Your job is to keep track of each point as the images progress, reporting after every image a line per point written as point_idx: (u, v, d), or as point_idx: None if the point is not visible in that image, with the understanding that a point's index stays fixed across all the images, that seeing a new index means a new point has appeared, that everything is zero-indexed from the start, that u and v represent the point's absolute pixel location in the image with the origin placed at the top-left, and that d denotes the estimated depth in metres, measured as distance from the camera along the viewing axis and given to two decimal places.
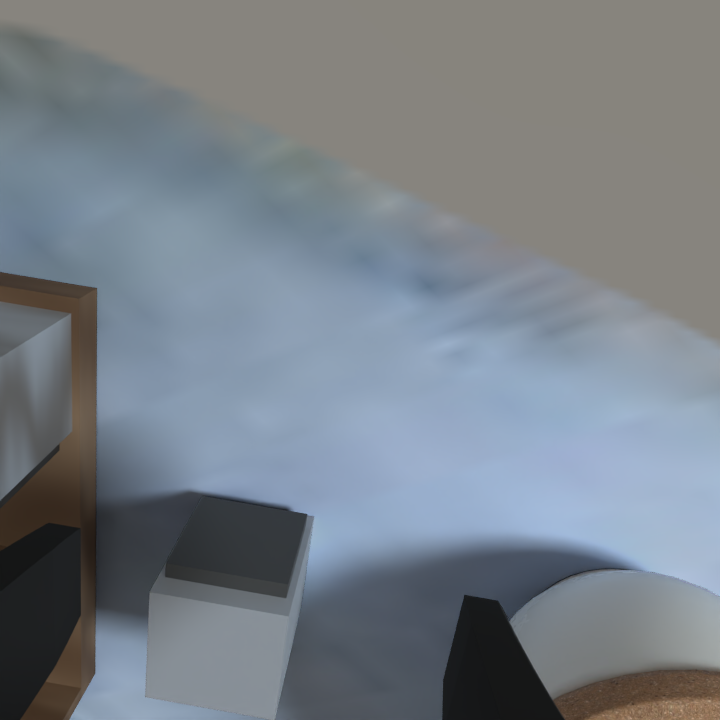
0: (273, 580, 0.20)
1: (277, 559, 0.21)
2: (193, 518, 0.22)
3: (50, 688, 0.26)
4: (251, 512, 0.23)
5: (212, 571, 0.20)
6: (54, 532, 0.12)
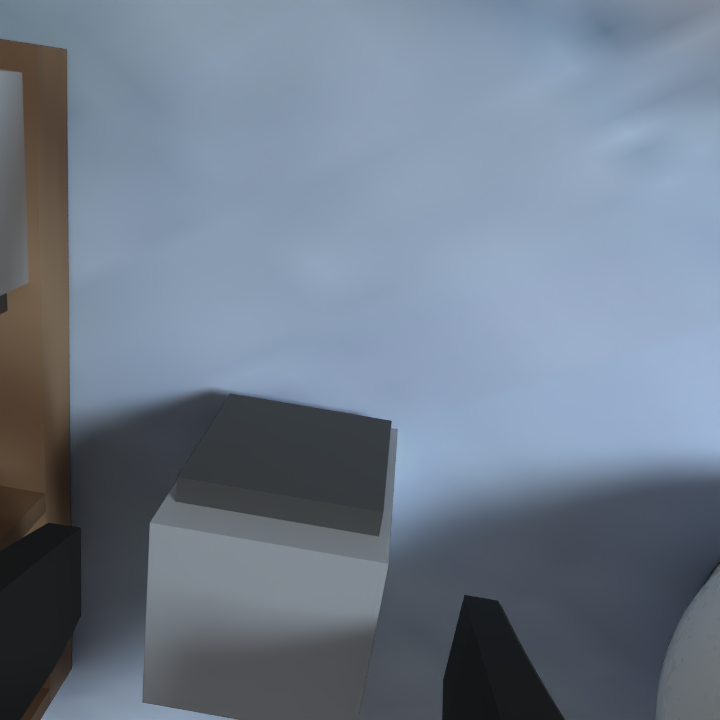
0: (358, 505, 0.12)
1: (358, 476, 0.13)
2: (218, 420, 0.14)
3: None
4: (307, 415, 0.15)
5: (255, 490, 0.12)
6: (54, 532, 0.12)
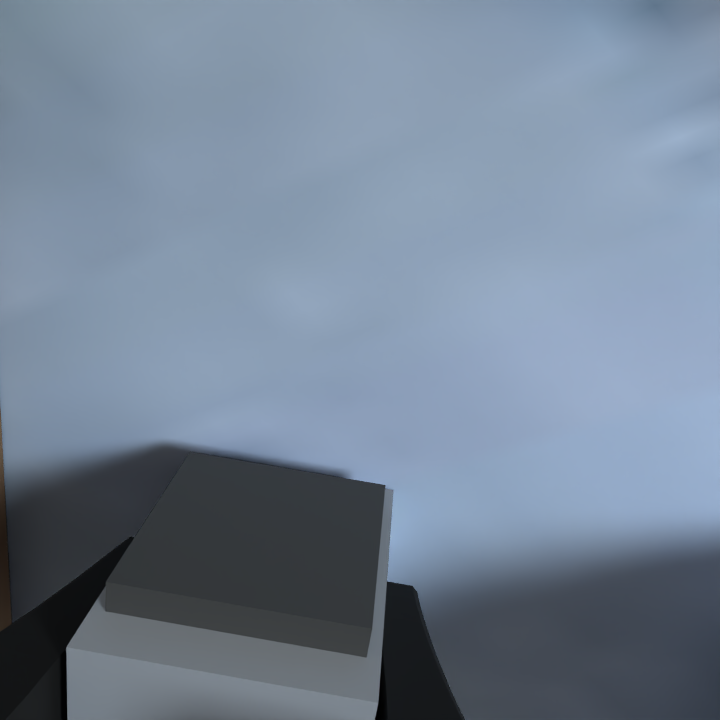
0: (339, 619, 0.09)
1: (341, 572, 0.10)
2: (171, 490, 0.11)
3: None
4: (282, 481, 0.12)
5: (207, 599, 0.09)
6: None
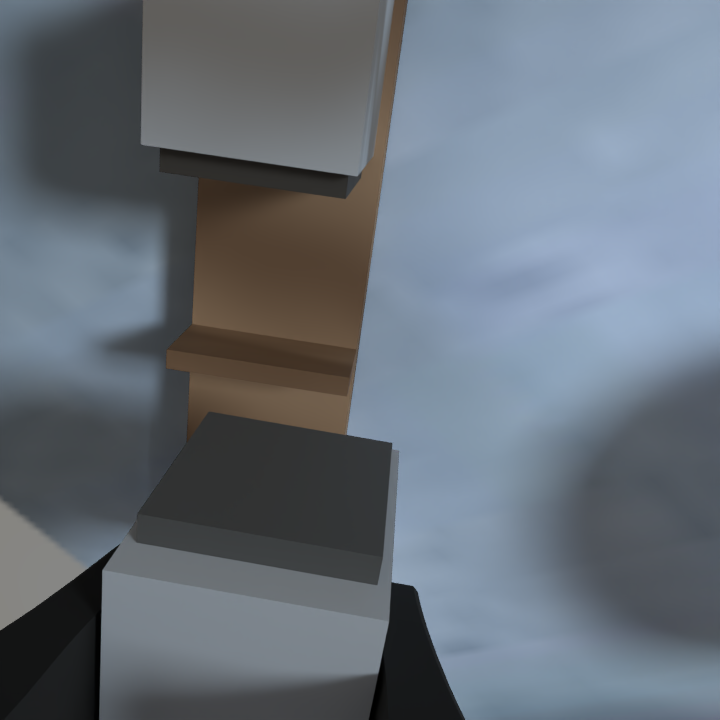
0: (352, 549, 0.10)
1: (353, 511, 0.11)
2: (193, 442, 0.12)
3: None
4: (295, 437, 0.13)
5: (230, 530, 0.10)
6: None
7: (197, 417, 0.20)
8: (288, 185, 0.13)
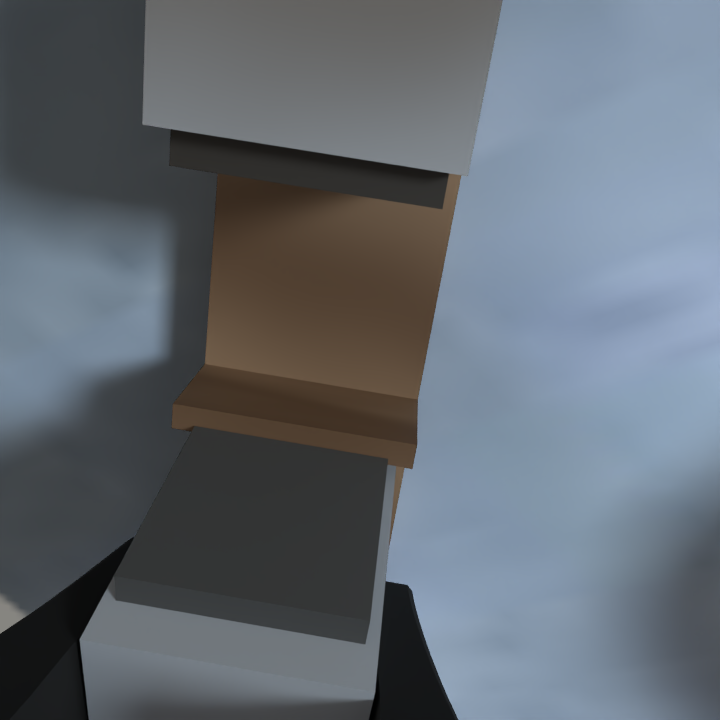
0: (338, 611, 0.10)
1: (342, 558, 0.10)
2: (176, 471, 0.12)
3: None
4: (285, 457, 0.12)
5: (211, 593, 0.10)
6: None
7: None
8: (358, 188, 0.09)
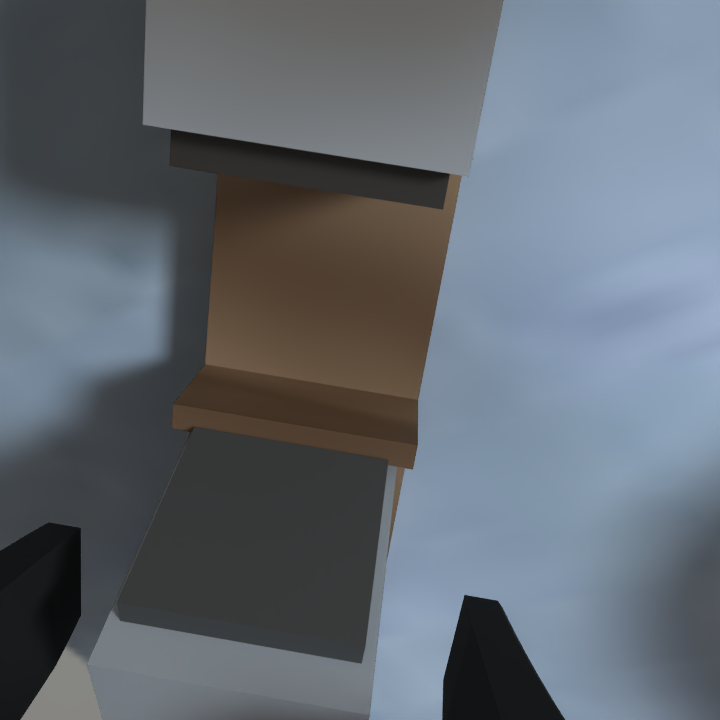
0: (335, 636, 0.10)
1: (340, 577, 0.11)
2: (176, 481, 0.12)
3: None
4: (285, 461, 0.12)
5: (211, 619, 0.10)
6: (54, 532, 0.12)
7: None
8: (359, 188, 0.09)
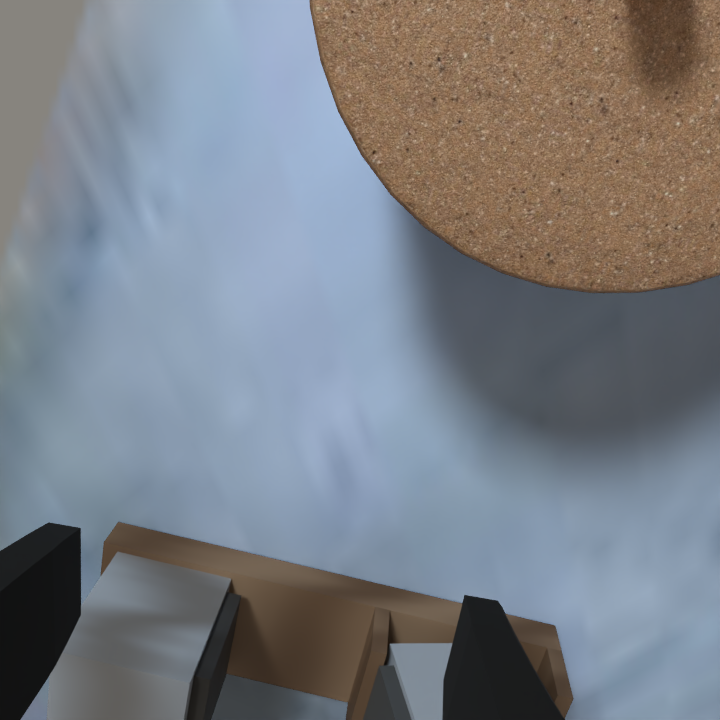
0: None
1: None
2: None
3: None
4: (369, 719, 0.22)
5: None
6: (55, 532, 0.12)
7: None
8: (202, 705, 0.20)
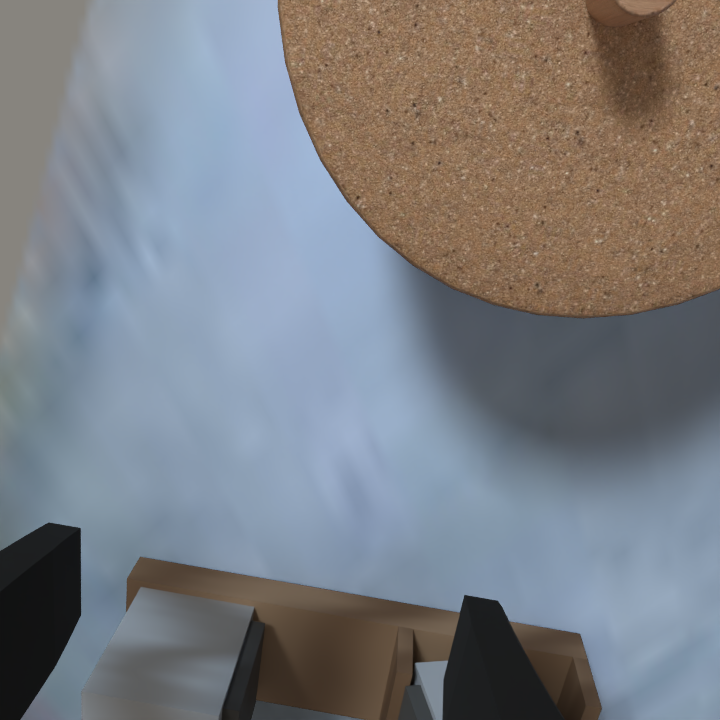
0: None
1: None
2: None
3: (566, 686, 0.24)
4: None
5: None
6: (54, 532, 0.12)
7: None
8: None
